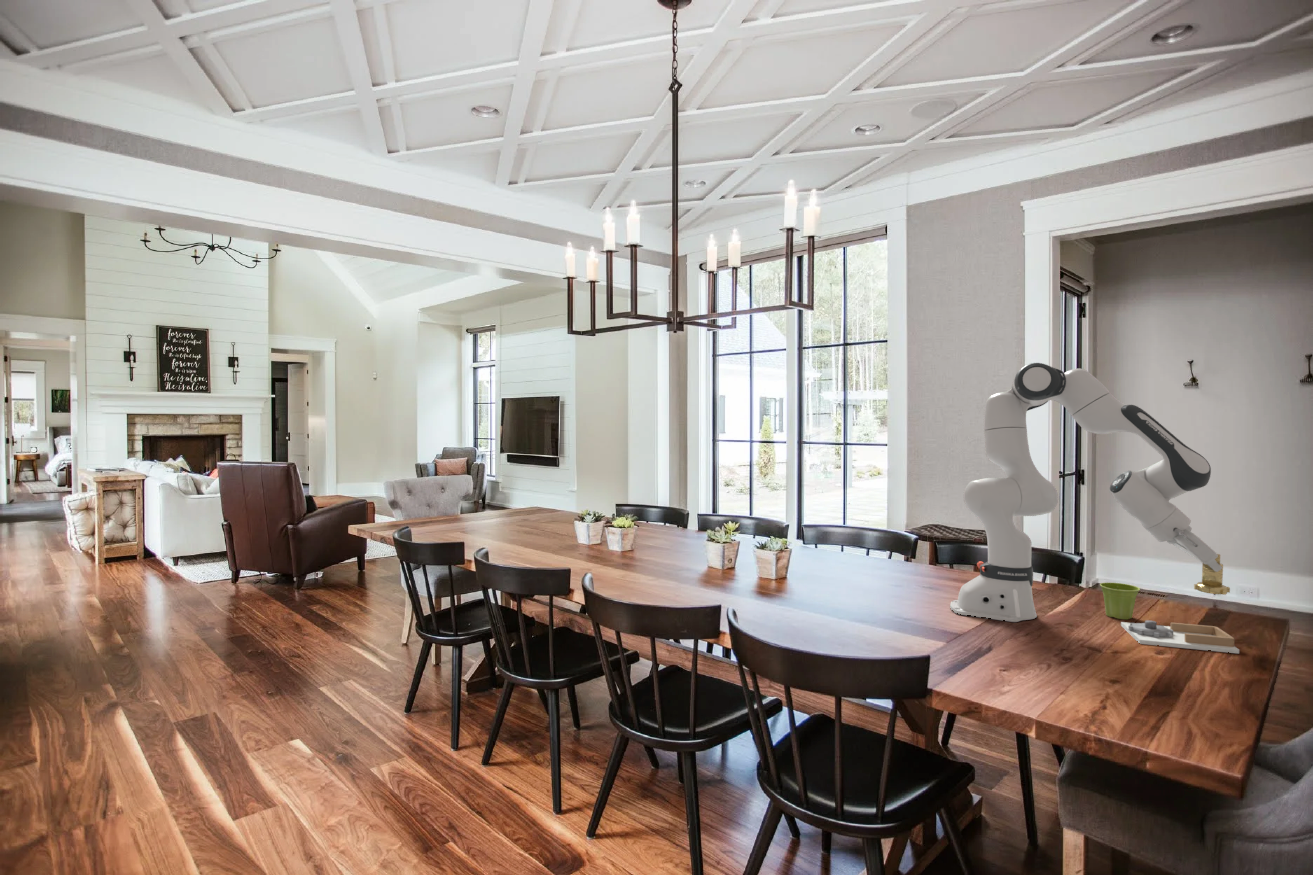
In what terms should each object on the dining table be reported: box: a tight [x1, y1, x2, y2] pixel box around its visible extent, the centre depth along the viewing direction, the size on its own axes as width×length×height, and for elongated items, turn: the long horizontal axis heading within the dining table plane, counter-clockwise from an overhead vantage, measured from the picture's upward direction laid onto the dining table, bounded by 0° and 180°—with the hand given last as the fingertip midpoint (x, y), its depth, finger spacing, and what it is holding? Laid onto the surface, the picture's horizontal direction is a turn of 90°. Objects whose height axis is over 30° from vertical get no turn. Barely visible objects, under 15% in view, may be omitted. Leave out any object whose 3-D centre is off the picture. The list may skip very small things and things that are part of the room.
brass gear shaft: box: [1193, 553, 1231, 596], centre depth 171 cm, size 7×6×9 cm
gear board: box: [1120, 619, 1240, 654], centre depth 173 cm, size 20×16×4 cm
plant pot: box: [1099, 582, 1141, 620], centre depth 193 cm, size 9×9×9 cm
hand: (1214, 567), depth 171 cm, fingers closed on brass gear shaft, 4 cm apart
